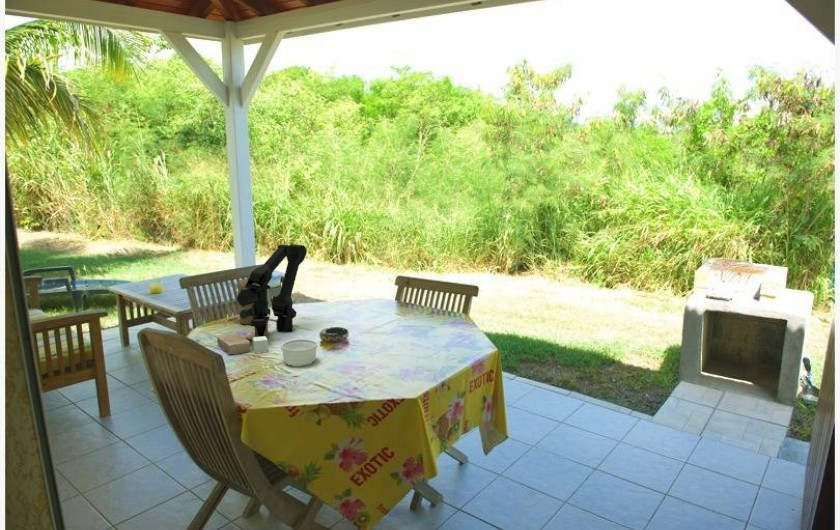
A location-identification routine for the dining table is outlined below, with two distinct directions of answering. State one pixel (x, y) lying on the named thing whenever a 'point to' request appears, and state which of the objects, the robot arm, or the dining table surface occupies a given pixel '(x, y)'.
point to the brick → (233, 343)
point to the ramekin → (299, 351)
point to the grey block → (260, 344)
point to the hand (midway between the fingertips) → (261, 336)
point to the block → (248, 319)
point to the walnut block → (264, 332)
